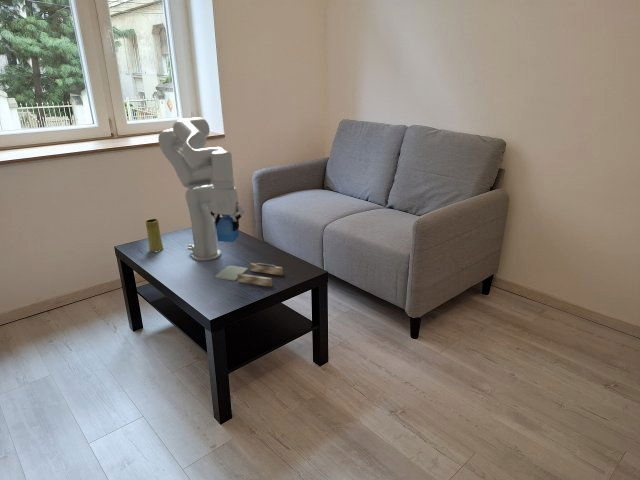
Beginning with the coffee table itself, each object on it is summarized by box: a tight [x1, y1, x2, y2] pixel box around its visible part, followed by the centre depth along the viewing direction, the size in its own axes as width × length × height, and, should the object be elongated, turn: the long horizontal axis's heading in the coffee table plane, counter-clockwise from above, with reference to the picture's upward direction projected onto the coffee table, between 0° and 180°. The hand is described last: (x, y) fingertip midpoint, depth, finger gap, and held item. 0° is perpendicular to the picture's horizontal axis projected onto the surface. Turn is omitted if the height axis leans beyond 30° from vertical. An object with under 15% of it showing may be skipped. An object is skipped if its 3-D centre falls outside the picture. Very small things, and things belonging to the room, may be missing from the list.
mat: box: [214, 265, 249, 282], centre depth 179 cm, size 9×11×1 cm
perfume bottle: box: [215, 215, 240, 243], centre depth 171 cm, size 6×6×12 cm
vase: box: [145, 218, 164, 252], centre depth 201 cm, size 6×6×14 cm
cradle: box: [237, 262, 284, 287], centre depth 174 cm, size 14×11×4 cm
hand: (227, 228), depth 172 cm, fingers closed on perfume bottle, 6 cm apart
